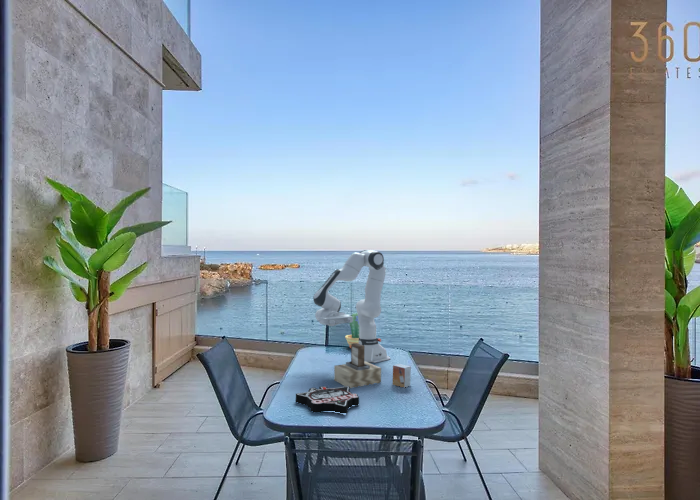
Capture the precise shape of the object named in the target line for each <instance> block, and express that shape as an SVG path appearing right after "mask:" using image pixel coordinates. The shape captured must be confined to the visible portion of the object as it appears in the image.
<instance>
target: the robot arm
mask: <svg viewBox="0 0 700 500" xmlns="http://www.w3.org/2000/svg"><path fill="white" fill-rule="evenodd" d="M384 262H385V259H384V255H383V253H382V252H380V251H379V250H374V249H373V250H372V249H369V250H367V249H363V250H361V251H359V252H352V254H350V255H349V256H348V258H347V260H346V261H345V262H344V264H343V266H342V267H340V268H339V269H336V270H334V271H332V274H331V275H330V276H329V277H328V278H327V279H326V280H325V282H324V283H323V284H322V285H321V287H320V288H319V289H317V291H316V292H314V295H313V297H312V299H313V303H314V305H317V306H318V307H320V309H316V312H315V314H314V315H315V320H316V321H317V322H319V324H321V325H323V326H325V325H326V326H329V327H335V326H337V325H341V324H350V323H352V322H353V317H352V315H350V314H347V313H345V312H340V310H341V308H342V302H341V300H340V299H339V298H337V297H336V296H334V295H332V294H330V293H329V291H330V289H331V288H332V287H333V285H334V284H335V283H336V282H338V281H341V282H342V281H343V282H353V281H355V280H356V279H357V278H358V276H359V274H360V273H361V270H362V269H363V268H364V267H366V268H368V270H369V271H368V274H367V278H366V283H365V287H364V294H365V295H364V298H362V299H359V300H358V301H357V302H356V304H355V310H356V313H357V314H358V320H359V344H361V345H364V346H365V350H364V361H366V362H368V363H379V362H384V361H388V360H391V357H390V356H389V355H388V353H387V349H386V348H385V347H383V346H382V345H381V344H380V343H381V342H382V339H381V338H377V325H376V322H375V319H376V318H378V317H380V315H381V313H382V308H381V307H382V306H381V298H382V297H381V296H382V295H381V294H382V291H383V287H384V283H385V278H386V270H387V269H386V266H385V265H384V264H385V263H384ZM379 342H380V343H379Z"/></svg>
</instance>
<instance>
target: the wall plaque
mask: <svg viewBox="0 0 700 500" xmlns="http://www.w3.org/2000/svg"><path fill="white" fill-rule="evenodd" d="M350 390H351V388H350V387H349V386H344V385H343V386H338V387H328V386H322V385H321V386H319V387H318V388H316V387H310V388H309V390H308V391H305V392H304V391H303V392H297V393H295V403H296V402H298V403H297V404H299V403H301V404H300V405H303V404H305V405H304V406H306V407H307V406H308V407H307V408H308V409H310V408H311V409H310V412H311V411H313V412H312V413H314V412H320V413H322V412H321V411H335V412H340V413H347V414H348V411H347V410H349V409H348V408H349V407H351V406H352V405H358V404H359V405H360V397H359V395H358V393H354V392H351V391H350Z"/></svg>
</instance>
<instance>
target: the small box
mask: <svg viewBox="0 0 700 500" xmlns="http://www.w3.org/2000/svg"><path fill="white" fill-rule="evenodd" d="M411 369H412V367H411V366H410V365H405V364H402V363H397V364H394V365H392V386H397V387H399V386H400V387H399V388H402V387H404V388H403V389H406V388H408V386H409V387H410V386H411V382H412V381H411V377H412V374H411V371H412V370H411ZM405 387H406V388H405Z"/></svg>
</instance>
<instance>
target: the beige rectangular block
mask: <svg viewBox="0 0 700 500" xmlns="http://www.w3.org/2000/svg"><path fill="white" fill-rule="evenodd" d="M333 369H334V374H333V375H334V377H333V378H334V379H333V380H334V381H335V382H337V383H338V384H340V385H342V386H343V387H344V386H349V387H350V389H354V388H359V387H358V386H360V387H364V385H365V386H370V385H369V384H371V385H375V384H374V383H377V384H381V383H382V367H380V366H379V365H378V366H377V365H376V364H375V365H374V364H372V363H371V362H366V361H364V366H362V367H357V366H355V365H352V364H351V361H347V362H345V364H344V363H342V364H337V365H334V367H333ZM380 382H381V383H380ZM353 387H354V388H353Z"/></svg>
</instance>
